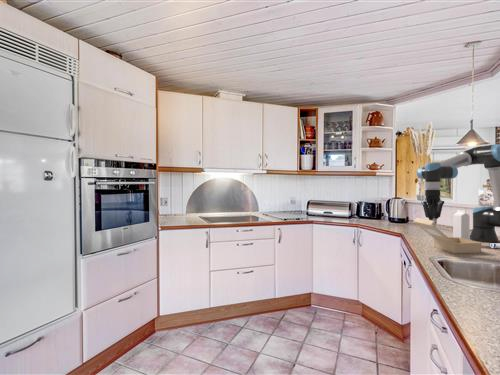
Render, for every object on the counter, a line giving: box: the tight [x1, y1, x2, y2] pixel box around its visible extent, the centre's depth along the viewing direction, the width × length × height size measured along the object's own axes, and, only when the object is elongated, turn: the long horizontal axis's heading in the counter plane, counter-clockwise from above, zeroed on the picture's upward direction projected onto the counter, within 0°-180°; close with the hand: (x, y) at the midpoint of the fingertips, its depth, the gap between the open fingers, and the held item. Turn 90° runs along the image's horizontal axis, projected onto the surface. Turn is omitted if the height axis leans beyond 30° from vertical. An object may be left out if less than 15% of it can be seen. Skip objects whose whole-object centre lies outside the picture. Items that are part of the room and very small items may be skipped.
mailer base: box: [433, 236, 482, 255], centre depth 168 cm, size 16×16×6 cm
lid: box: [412, 217, 456, 243], centre depth 167 cm, size 17×17×3 cm
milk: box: [452, 209, 471, 240], centre depth 183 cm, size 6×6×22 cm
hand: (432, 229), depth 167 cm, fingers closed
